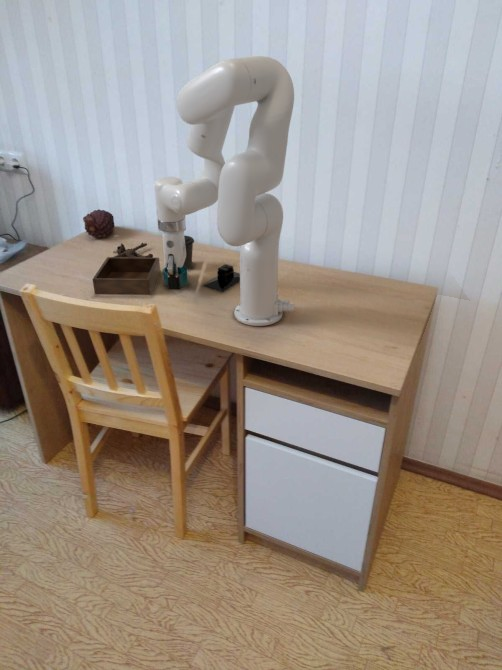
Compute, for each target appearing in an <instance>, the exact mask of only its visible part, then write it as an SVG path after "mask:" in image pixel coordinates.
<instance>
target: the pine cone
mask: <svg viewBox="0 0 502 670" xmlns="http://www.w3.org/2000/svg"><path fill="white" fill-rule="evenodd" d="M82 221H83V223H84V230H85V233H88V234H87V235H88V236H91V237H93V238H100V239H102V238H104V237H105V238H106V237H108V235H111V233H112V232H113V230H114V229H115V227H116V225H115V217H114V215H113V214H112V213H111V212H109V211H107V210H104V209H94V210H93V211H90V213H86V215H85V216H83V218H82Z"/></svg>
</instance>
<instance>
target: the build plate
mask: <svg viewBox="0 0 502 670" xmlns="http://www.w3.org/2000/svg"><path fill="white" fill-rule="evenodd" d="M216 273H217V274H216V275H217V276H216V277H215V278H213V279H211V280H209V281H208V282H206V283H205V284H203V287H206V288H208V289H212V290H214V291H218V292H221V293H224V292H226V291H227V290H229V289H230V288H232V287H234V286H235V285H237V284H238V283H240V272H236V271H235V269H234V266H233V265H230V264H227V263H225V264H223V265H221V266H219V267H218V268H217V272H216Z"/></svg>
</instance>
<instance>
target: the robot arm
mask: <svg viewBox="0 0 502 670" xmlns="http://www.w3.org/2000/svg"><path fill="white" fill-rule="evenodd" d="M254 102H256V103H257V107H256V109H255V112H254V113H253V115H252V118H251V121H250V124H249V129H248V141H247V146H246V149H245V151H244V152H241V153H237V154H234V155H233V156H231V157H229V158H228V159H227V160H226V161H225V158H224V155H223V153H222V151H223V148H224V144H225V141H226V137H227V134H228V131H229V128H230V125H231V122H232V118H233V114H234V111H235V107H236V106H240V105H245V104H250V103H254ZM294 104H295V87H294V83H293V80H292V77H291V75H290V73H289V71H288V70H287V68H286V67H285V65H283V64H282V63H281V62H280V61H279V60H277V59H274V58H272V57H270V56H264V55H256V56H255V55H254V56H246V57H238V58H237V57H236V58H228V59H224V60H221V61H219V62H217V63H215V64H214V65H211V67H209V68H207V69H206V70H204V71H202V72H201V73H199V74H198V75H197V76H195V77H193V78H192V79H190V80H189V81H187V82H186V83H185V84H184V85H182V88H181V89H180V90H179V92H178V95H177V100H176V109H177V112H178V115H179V117H180V119H181V120H182V121H183V122H185V123H186V124H188V125H190V127H189V131H188V135H187V138H186V139H187V140H186V144H187V145H186V146H187V148H188V149H189V150H190V152H192V153H193V154H194V155H195V156H197V157H200V158H202V159H203V160H204V161H203V168H202V171H201V173H200V176H199V178H198V179H194V180H190V181H187V182H185V183H183V181H182V179H180V178H179V177H176V176H162V177H159V178H157V179H156V180H155V182H154V197H155V207H156V219H157V228H158V229H157V230H158V232H159V233H161V234H162V251H163V262H164V267H168V286H167V287H168V290H180V289H181V287H180V280H179V276H178V267H180V268H181V267H182V266H183V265H184V262H185V259H186V246H185V237H184V236H185V231H186V230H187V224H186V223H187V222H186V221H187V220H186V216H187V215H191V214H193V213H197V212H198V211H201V210H204V209H207V208H209V207H212V206H213V205H215V204H216V203H217V208H216V226H217V231H218V234H219V236H220V238H221V239H222V241H224V243H225V244H227V245H229V246H231V247H239V274H240V282H239V304H238V305H236V307H235V308H234V317H235V319H236V320H237V321H238V322H239V323H242V324H244V325H247V326H252V327H253V326H254V327H264V326H269V325H273V324H276V323H277V322H279V321H280V320H281V319H282V318H283V314H284V313H283V312H295V310H296V309H295V308H296V307H295V305H296V304H295V303H290V302H291V301H290V300H287V299H285V300H281V299H279V294H278V281H279V280H278V279H279V278H278V277H279V250H280V249H279V248H280V247H279V246H280V238H281V233H282V228H283V223H284V209H283V205H282V204H281V202H280V200H279V199H278V198H277V197H276V196H275V195H273V194H271V193H268V192H270V191H272V190H274V189H276V188H277V187H278V186H280V185H281V182H282V180H283V177H284V171H285V166H286V165H285V164H286V156H287V149H288V141H289V132H290V125H291V120H292V116H293V111H294ZM173 264H175V265H176V266H173ZM173 268H176V273H175V271H173Z"/></svg>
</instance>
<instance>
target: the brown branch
mask: <svg viewBox="0 0 502 670" xmlns="http://www.w3.org/2000/svg"><path fill="white" fill-rule="evenodd" d="M147 246H148V243H146V242H141V243H140V244H139V245H137V246H135V247H133V248H126V247H125V244H124V243H120V245H119V246H117V248H116V250H113V251H112V253H113V254H117V255H115V256H113V257H143V258H154V255H153V253H148V254H147V255H142V254H140V253H137V251H138V250H140V249H142V248H145V247H147Z"/></svg>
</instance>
